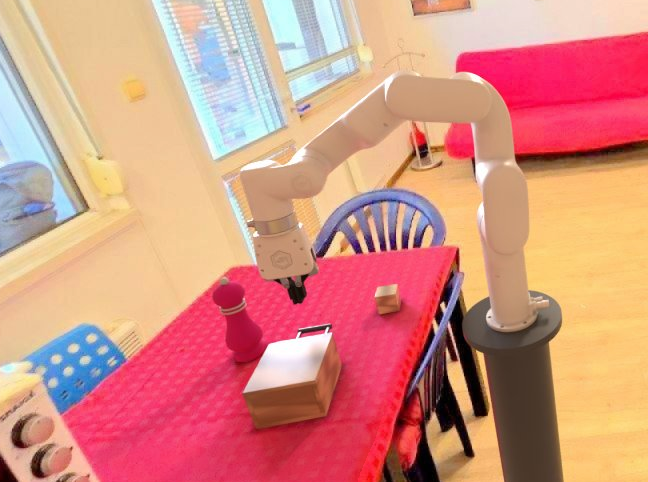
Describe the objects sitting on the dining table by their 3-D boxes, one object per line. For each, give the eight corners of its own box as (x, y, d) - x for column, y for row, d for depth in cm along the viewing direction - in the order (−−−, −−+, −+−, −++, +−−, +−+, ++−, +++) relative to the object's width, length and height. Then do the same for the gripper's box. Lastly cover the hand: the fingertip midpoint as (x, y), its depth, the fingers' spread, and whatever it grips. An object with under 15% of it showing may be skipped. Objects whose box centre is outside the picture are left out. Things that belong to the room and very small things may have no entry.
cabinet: (280, 377, 111) (269, 343, 108) (342, 366, 112) (332, 332, 109) (255, 429, 97) (242, 393, 94) (326, 416, 99) (315, 380, 96)
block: (401, 300, 135) (397, 283, 133) (399, 311, 131) (395, 293, 129) (381, 303, 135) (377, 286, 133) (378, 314, 130) (374, 297, 128)
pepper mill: (225, 360, 117) (195, 284, 110) (252, 341, 124) (226, 267, 116) (247, 366, 115) (218, 288, 107) (275, 346, 121) (249, 271, 114)
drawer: (294, 347, 119) (286, 322, 116) (346, 338, 120) (339, 313, 118) (263, 414, 100) (252, 385, 97) (325, 402, 101) (316, 374, 99)
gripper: (229, 235, 100) (256, 316, 107) (310, 224, 102) (332, 304, 109) (244, 220, 107) (268, 297, 114) (320, 210, 109) (340, 286, 116)
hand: (299, 300), depth 111 cm, fingers closed
